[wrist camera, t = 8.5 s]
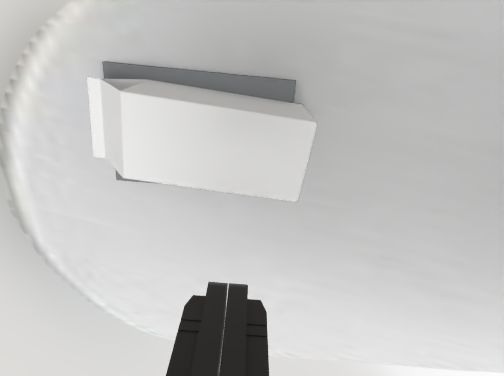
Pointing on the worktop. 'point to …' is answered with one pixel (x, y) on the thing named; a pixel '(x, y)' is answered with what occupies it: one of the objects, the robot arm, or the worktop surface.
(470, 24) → the worktop surface
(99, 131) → the milk carton
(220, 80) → the mat
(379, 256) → the worktop surface
